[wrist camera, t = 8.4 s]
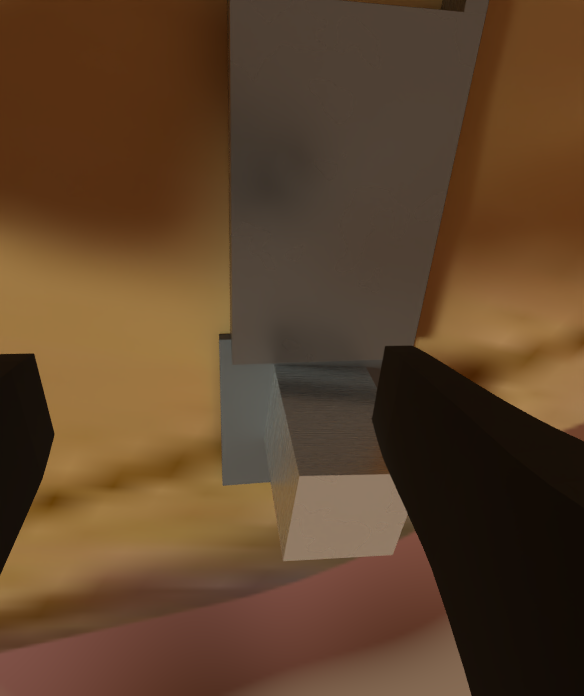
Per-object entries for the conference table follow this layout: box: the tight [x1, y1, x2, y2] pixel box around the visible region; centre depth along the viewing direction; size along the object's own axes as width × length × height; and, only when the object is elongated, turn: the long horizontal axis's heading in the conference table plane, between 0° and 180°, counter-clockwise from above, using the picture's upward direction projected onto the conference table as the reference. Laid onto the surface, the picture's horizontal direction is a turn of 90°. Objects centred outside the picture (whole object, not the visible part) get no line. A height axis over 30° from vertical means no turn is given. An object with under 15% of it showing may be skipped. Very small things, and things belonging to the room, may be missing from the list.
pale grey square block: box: [264, 365, 408, 561], centre depth 20 cm, size 4×4×7 cm
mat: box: [219, 334, 382, 486], centre depth 24 cm, size 9×9×1 cm
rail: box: [227, 0, 489, 365], centre depth 15 cm, size 8×24×2 cm, turn 177°
